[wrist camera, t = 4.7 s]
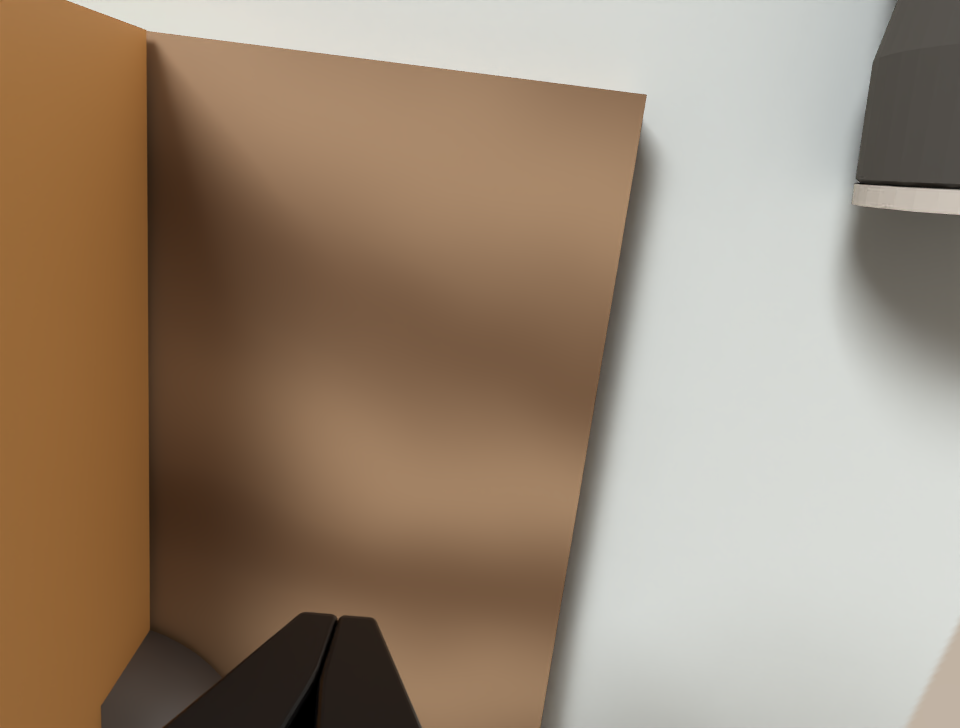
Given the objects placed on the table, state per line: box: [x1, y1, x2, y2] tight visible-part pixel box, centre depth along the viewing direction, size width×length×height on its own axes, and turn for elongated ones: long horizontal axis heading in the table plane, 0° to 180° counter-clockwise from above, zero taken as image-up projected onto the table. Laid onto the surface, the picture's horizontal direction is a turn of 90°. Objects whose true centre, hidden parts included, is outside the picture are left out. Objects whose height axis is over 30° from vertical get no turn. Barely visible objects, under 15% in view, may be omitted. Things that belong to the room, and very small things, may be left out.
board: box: [146, 31, 647, 728], centre depth 18 cm, size 22×22×2 cm
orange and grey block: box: [0, 0, 222, 728], centre depth 14 cm, size 20×7×6 cm, turn 173°
